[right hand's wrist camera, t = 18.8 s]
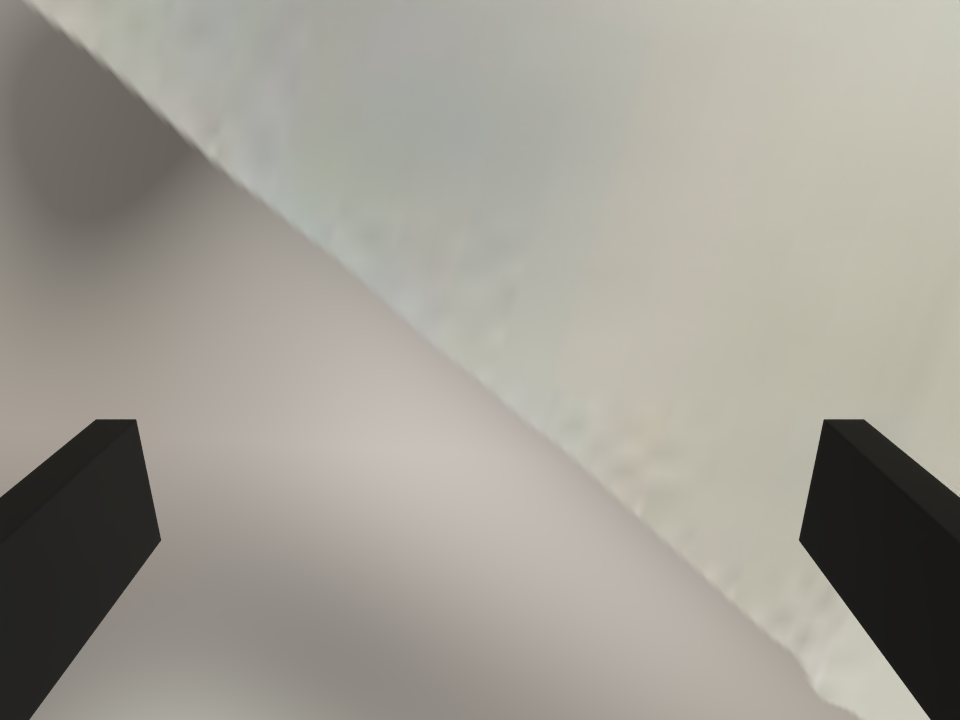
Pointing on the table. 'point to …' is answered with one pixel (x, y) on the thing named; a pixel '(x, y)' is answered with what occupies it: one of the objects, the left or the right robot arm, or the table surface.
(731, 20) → the table surface
